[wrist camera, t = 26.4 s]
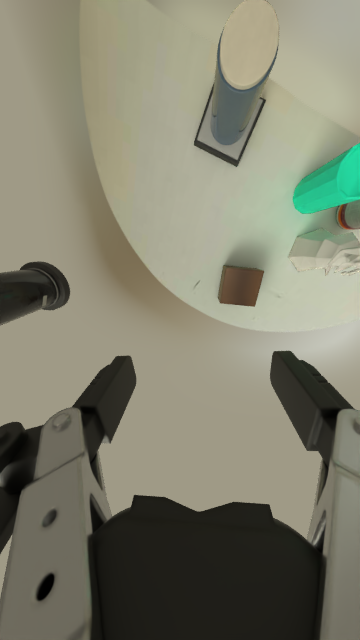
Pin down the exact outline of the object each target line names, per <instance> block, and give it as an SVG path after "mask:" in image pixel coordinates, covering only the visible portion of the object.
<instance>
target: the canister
mask: <svg viewBox="0 0 360 640" xmlns="http://www.w3.org/2000/svg"><path fill="white" fill-rule="evenodd" d="M278 42H279V24H278V19H277V15H276V13H275V11H274V9H273V7H272V6H271V5H270V3H268V2H267V1H266V0H246V1H244V2H242V3H241V4H240V5H238V6H237V7H236V8H235V10H234V11H233V12H232V14H231V15H230V17H229V18H228V20H227V22H226V25H225V27H224V29H223V31H222V34H221V37H220V40H219V44H218V51H217V61H216V70H215V80H214V89H213V99H212V108H211V118H210V128H211V132H212V135H213V137H214V138H215V140H216V141H217V142H218V143H220V144H222V145H232V144H234V143H236V142H237V141H238V140H239V139H240V138H241V137H242V136H243V135H244V133H245V131H246V129H247V126H248V124H249V122H250V119H251V117H252V115H253V112H254V110H255V108H256V105H257V103H258V100H259V98H260V96H261V93H262V91H263V89H264V86H265V84H266V81H267V79H268V77H269V74H270V72H271V70H272V67H273V65H274V62H275V59H276V55H277V51H278Z"/></svg>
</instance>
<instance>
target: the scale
mask: <svg viewBox="0 0 360 640" xmlns="http://www.w3.org/2000/svg"><path fill="white" fill-rule="evenodd" d="M213 89H214V84H213V87H212V90H211V93H210V96H209V99H208V102H207V105H206V108H205V111H204V114H203V117H202V120H201V123H200V126H199V129H198V132H197V135H196V138H195V141H194V145H195V146H197V147H199V148H201V149H203V150H205V151H207V152H209V153H211V154H213V155H215V156H217V157H219V158H221V159H223V160H225V161H227V162H229V163H231V164H233V165H235V166H236V167H237V165H238V163H239V161H240V159H241V156H242V154H243V152H244V150H245V147H246V145H247V143H248V140H249V138H250V136H251V133H252V131H253V129H254V127H255V124H256V122H257V120H258V117H259V115H260V113H261V110H262V108H263V106H264V103H265V101H266V100H265V99H263V98H261V97H260V98H259V100H258V103H257V105H256V108H255V110H254V112H253V115H252V117H251V119H250V122H249V124H248V126H247V129H246V131H245V133H244V135H243V136H242V137H241V138H240V139H239V140H238V141H237V142H236V143H234V144H232V145H222V144H220V143H218V142H217V141H216V140H215V138H214V137H213V135H212V132H211V128H210V118H211V108H212V99H213Z"/></svg>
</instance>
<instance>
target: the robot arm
mask: <svg viewBox="0 0 360 640" xmlns="http://www.w3.org/2000/svg"><path fill="white" fill-rule="evenodd" d="M59 296H60V290H59V286H58V284H57V282H56V280H55V279H54V278H53V277H52V276H51V275H50V274H49V273H48V272H46V271H44V270H42V269H39V268H30V269H26V270H19V271H11V272H4V273H0V325H3V324H5V323H8V322H10V321H13V320H15V319H18V318H20V317H23V316H25V315H27V314H30V313H33V312H35V311H37V310H40V309H42V308H45V307H48V306H51V305H53V304H55V303H56V302H57V301H58V299H59ZM270 379H271V384H272V386H273V388H274V390H275V392H276V394H277V396H278V398H279V399H280V401H281V403H282V405H283V407H284V409H285V411H286V413H287V414H288V416H289V418H290V420H291V422H292V424H293V426H294V428H295V429H296V431H297V433H298V435H299V437H300V439H301V440H302V443H303V444H304V446H305V448H306V450H307V451H319V453H320V455H321V456H322V461H321V466H320V472H319V478H318V485H317V491H316V498H315V504H314V510H313V515H312V519H311V523H310V527H309V532H308V536H307V540H306V539H305V538H304V537H303V536H302V535H300V534H299V533H298V532H296V531H295V530H294V529H292V528H291V527H289V526H288V525H286V524H284V523H283V522H280V521H279V520H277V519H275V518H273V516H272V512H271V509H270V505H269V504H256V503H242V502H232V503H228V504H225V505H222V506H218V507H215V508H212V509H208V510H205V511H201V512H197V511H194V510H192V509H190V508H188V507H186V506H183V505H181V504H179V503H176V502H175V501H172V500H170V499H168V498H166V497H155V496H139V495H134V498H133V501H132V505H131V507H130V508H127V509H125V510H123V511H121V512H119V513H117V514H116V515H114V516H113V517H112V514H111V510H110V507H109V504H108V501H107V497H106V492H105V486H104V480H103V474H102V469H101V463H100V457H99V452H98V449H99V446H100V445H101V443H111V441H112V438H113V436H114V434H115V432H116V429H117V427H118V425H119V423H120V420H121V418H122V416H123V414H124V411H125V409H126V407H127V404H128V402H129V400H130V398H131V395H132V393H133V391H134V389H135V386H136V374H135V371H134V366H133V362H132V359H131V357H130V356H117V357H115V359H114V360H113V361H112V363H111V364H110V365H107V366H106V367H105V368H103V369H102V370H100V371H99V373H98V374H97V376H96V377H95V379H93V380H92V382H91V383H90V385H89V386H88V387H87V388H86V389H85V391H84V392H83V393H82V395H81V396H80V397H79V398H78V400H77V401H76V402H75V404H74V405H73V406H72V407H71V408H67V409H64V410H61V411H59V412H58V413H56V414H55V415H53V416H52V417H51V418H50V419H49V420H48V421H47V422H46V423H45V424H44V425H42V426H38V427H34V428H31V429H27V430H25V429H24V427H23V426H22V424H21V423H19V422H11V423H8V424H5V425H3V426H1V427H0V554H1V552H2V550H3V549H4V547H5V545H6V544H7V542H8V540H9V539H10V537H11V535H12V534H13V536H12V542H11V546H10V551H9V556H8V562H7V567H6V572H5V577H4V583H3V588H2V593H1V598H0V640H360V411H359V410H355V409H354V408H353V407H352V406H351V405H350V404H349V403H348V402H347V401H346V400H345V399H344V398H343V397H342V396H341V395H340V394H339V392H338V391H337V390H335V388H334V387H333V386H332V385H331V384H330V383H328V382H327V380H326V379H325V378H324V377H323V376H321V374H320V373H319V372H318V371H317V370H316V369H315V368H314V367H313V366H312V365H310V364H308V363H307V362H305V361H303V360H298V359H297V358H296V356H295V355H294V354H293V353H292V352H291V351H274V353H273V355H272V363H271V372H270Z"/></svg>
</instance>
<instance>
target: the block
mask: <svg viewBox="0 0 360 640" xmlns="http://www.w3.org/2000/svg"><path fill="white" fill-rule="evenodd" d="M263 273H264V271H263V270H260V269H258V268H248V267H236V266H225V265H223V270H222V276H221V282H220V288H219V294H218V299H219V302H220V303H224V304H234V305H244V306H255V304H256V300H257V297H258V293H259V289H260V285H261V281H262V277H263Z"/></svg>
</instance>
